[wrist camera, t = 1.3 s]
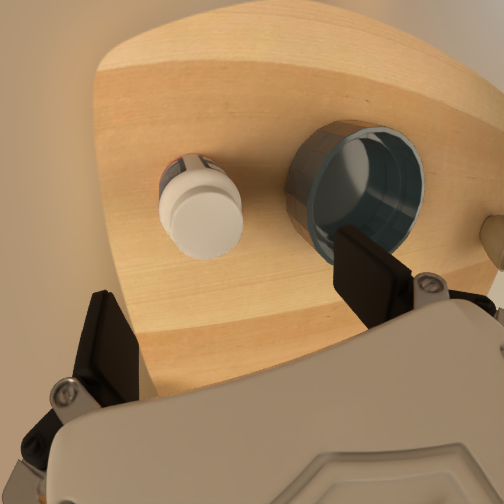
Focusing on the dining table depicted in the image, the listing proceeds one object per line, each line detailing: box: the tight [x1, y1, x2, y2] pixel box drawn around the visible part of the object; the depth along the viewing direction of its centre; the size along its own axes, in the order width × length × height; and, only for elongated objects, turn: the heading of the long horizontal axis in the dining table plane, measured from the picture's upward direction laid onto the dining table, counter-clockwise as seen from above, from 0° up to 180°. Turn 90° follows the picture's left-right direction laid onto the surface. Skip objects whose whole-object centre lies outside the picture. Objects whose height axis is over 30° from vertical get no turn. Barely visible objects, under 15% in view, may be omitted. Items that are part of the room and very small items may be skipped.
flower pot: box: [480, 215, 504, 272], centre depth 36 cm, size 10×10×7 cm
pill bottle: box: [159, 154, 244, 260], centre depth 19 cm, size 5×5×9 cm
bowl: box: [285, 120, 425, 265], centre depth 24 cm, size 13×13×5 cm
